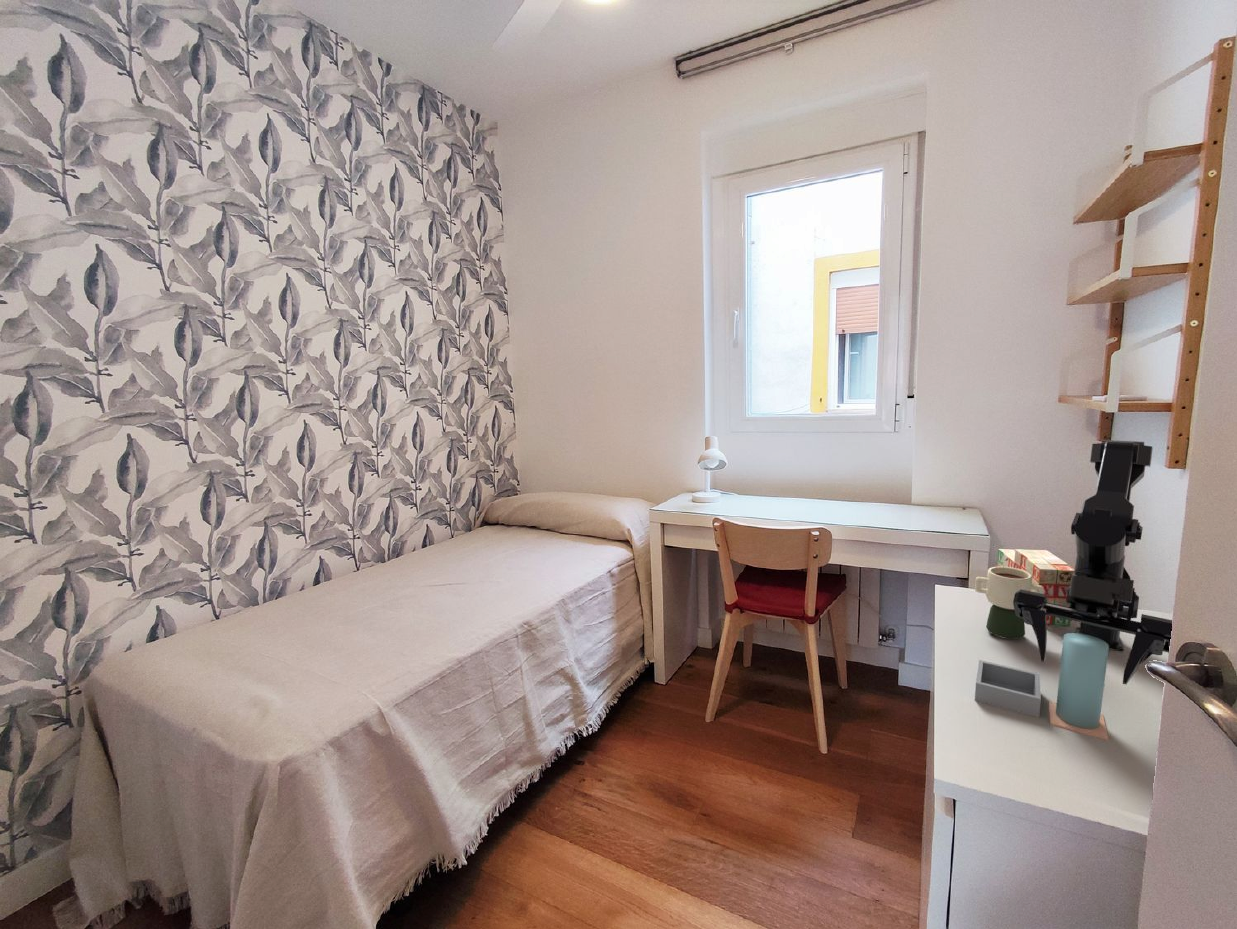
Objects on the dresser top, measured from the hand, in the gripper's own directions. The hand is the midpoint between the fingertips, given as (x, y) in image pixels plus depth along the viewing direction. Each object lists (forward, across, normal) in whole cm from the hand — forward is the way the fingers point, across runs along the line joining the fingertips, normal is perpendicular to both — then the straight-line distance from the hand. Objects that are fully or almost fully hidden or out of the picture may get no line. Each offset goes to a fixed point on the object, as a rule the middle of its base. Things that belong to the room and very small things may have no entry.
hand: (1081, 671), depth 79 cm
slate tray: (+5, -9, +6) cm, 12 cm away
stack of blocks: (-25, -12, +38) cm, 47 cm away
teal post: (+5, 0, +6) cm, 8 cm away
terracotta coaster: (+6, 0, +6) cm, 8 cm away
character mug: (-12, -13, +24) cm, 30 cm away
